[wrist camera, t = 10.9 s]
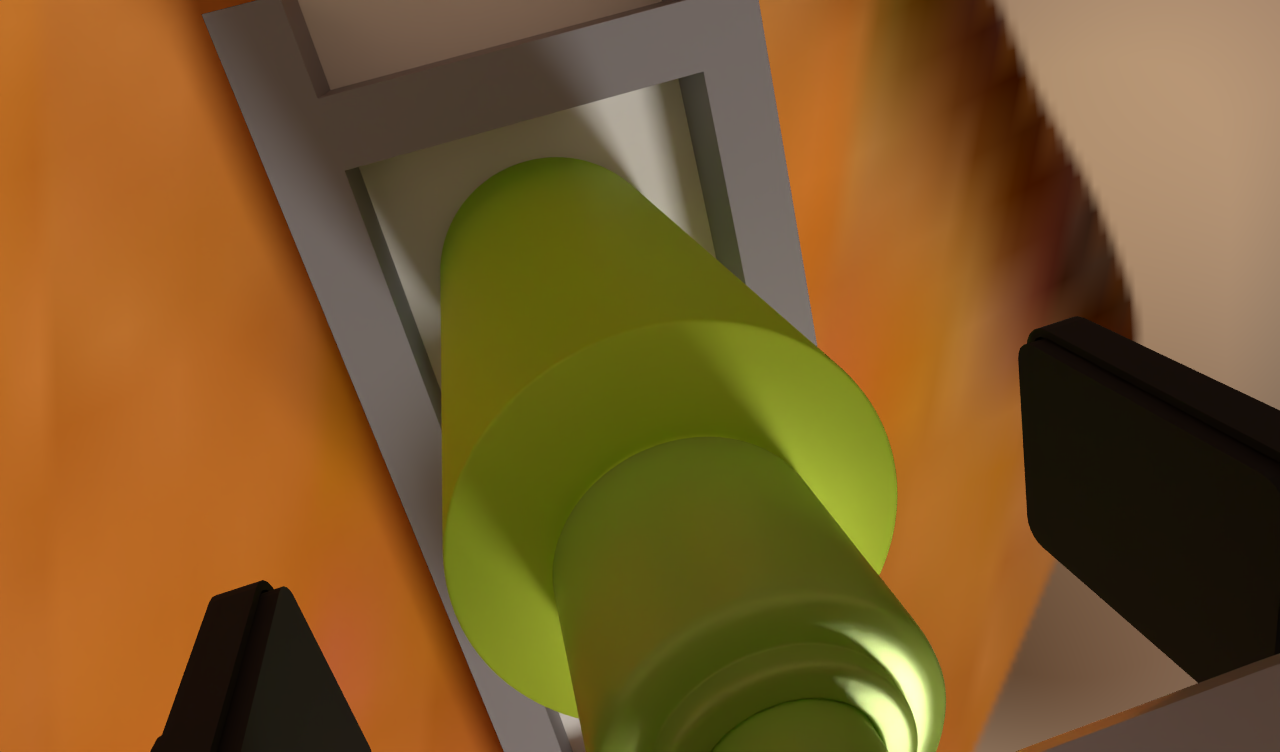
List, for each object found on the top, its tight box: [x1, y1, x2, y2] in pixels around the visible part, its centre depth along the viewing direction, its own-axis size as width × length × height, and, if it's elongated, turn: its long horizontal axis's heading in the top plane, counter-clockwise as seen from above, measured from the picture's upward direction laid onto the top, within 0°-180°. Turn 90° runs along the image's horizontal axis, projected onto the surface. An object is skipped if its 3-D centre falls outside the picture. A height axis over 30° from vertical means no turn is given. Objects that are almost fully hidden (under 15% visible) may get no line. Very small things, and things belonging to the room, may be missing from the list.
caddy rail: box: [202, 0, 817, 752], centre depth 21 cm, size 26×11×12 cm, turn 14°
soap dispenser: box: [440, 157, 946, 752], centre depth 14 cm, size 6×7×20 cm
